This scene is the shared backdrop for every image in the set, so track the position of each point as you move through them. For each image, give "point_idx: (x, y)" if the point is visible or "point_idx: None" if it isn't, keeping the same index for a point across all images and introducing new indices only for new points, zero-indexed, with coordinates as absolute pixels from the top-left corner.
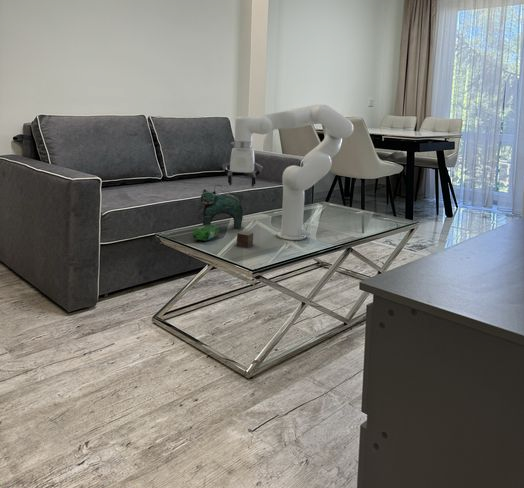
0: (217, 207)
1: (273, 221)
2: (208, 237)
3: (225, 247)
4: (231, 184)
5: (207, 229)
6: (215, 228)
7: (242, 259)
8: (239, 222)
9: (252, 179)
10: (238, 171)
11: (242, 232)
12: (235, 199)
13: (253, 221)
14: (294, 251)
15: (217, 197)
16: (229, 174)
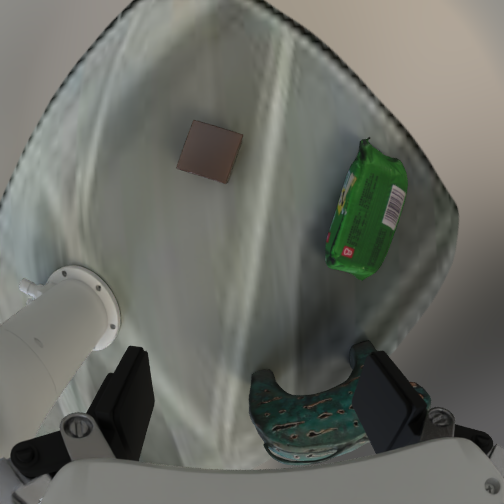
0: (353, 393)
1: (170, 446)
2: (351, 165)
3: (278, 114)
4: (359, 378)
5: (368, 177)
6: (341, 226)
7: (211, 14)
8: (257, 382)
9: (116, 393)
10: (356, 462)
11: (222, 160)
12: (288, 440)
13: (223, 441)
14: (61, 138)
15: None
16: (432, 422)
